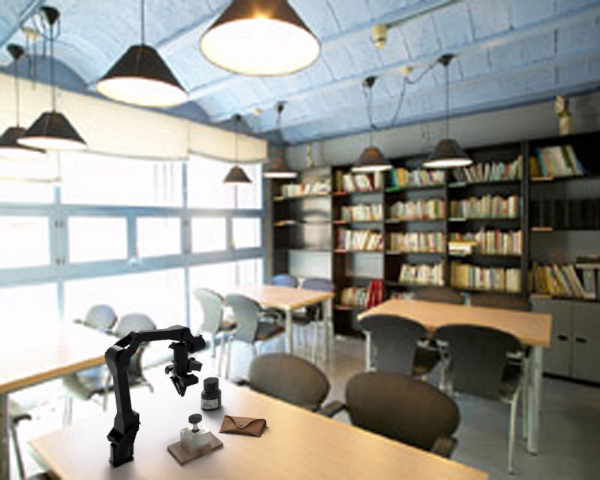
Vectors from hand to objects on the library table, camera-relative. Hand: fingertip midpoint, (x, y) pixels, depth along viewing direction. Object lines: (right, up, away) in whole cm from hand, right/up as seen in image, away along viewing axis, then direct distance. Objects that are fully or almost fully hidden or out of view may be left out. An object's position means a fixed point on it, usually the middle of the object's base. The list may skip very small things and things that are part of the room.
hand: (181, 395), depth 144 cm
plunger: (+9, -8, -13) cm, 18 cm away
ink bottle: (+8, -13, +17) cm, 23 cm away
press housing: (+9, -12, -13) cm, 20 cm away
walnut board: (+9, -14, -13) cm, 21 cm away
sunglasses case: (+25, -14, 0) cm, 28 cm away
